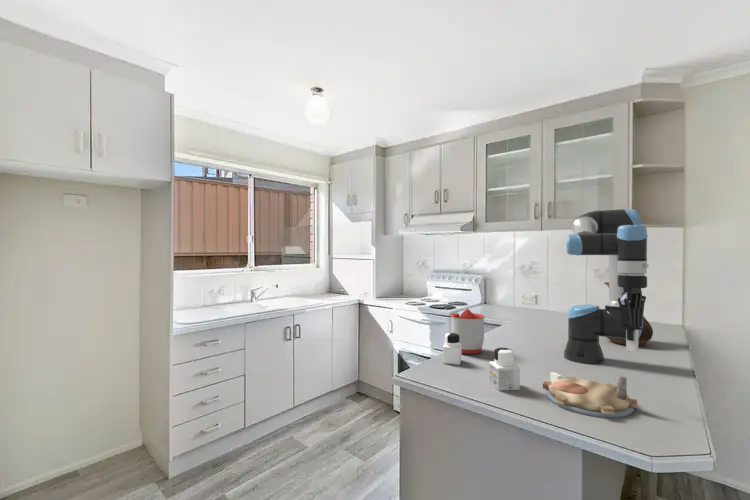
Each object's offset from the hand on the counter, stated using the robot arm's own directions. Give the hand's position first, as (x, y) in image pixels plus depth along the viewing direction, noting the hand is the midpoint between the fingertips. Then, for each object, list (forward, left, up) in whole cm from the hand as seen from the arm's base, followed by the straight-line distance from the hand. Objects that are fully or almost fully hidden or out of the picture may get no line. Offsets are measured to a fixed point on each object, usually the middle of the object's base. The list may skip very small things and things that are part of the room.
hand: (632, 350), depth 112 cm
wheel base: (-7, -12, -16) cm, 21 cm away
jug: (-64, +59, -16) cm, 88 cm away
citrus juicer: (-63, -27, -16) cm, 71 cm away
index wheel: (-4, -12, -15) cm, 20 cm away
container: (-19, -32, -16) cm, 41 cm away
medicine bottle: (-48, -40, -16) cm, 65 cm away
